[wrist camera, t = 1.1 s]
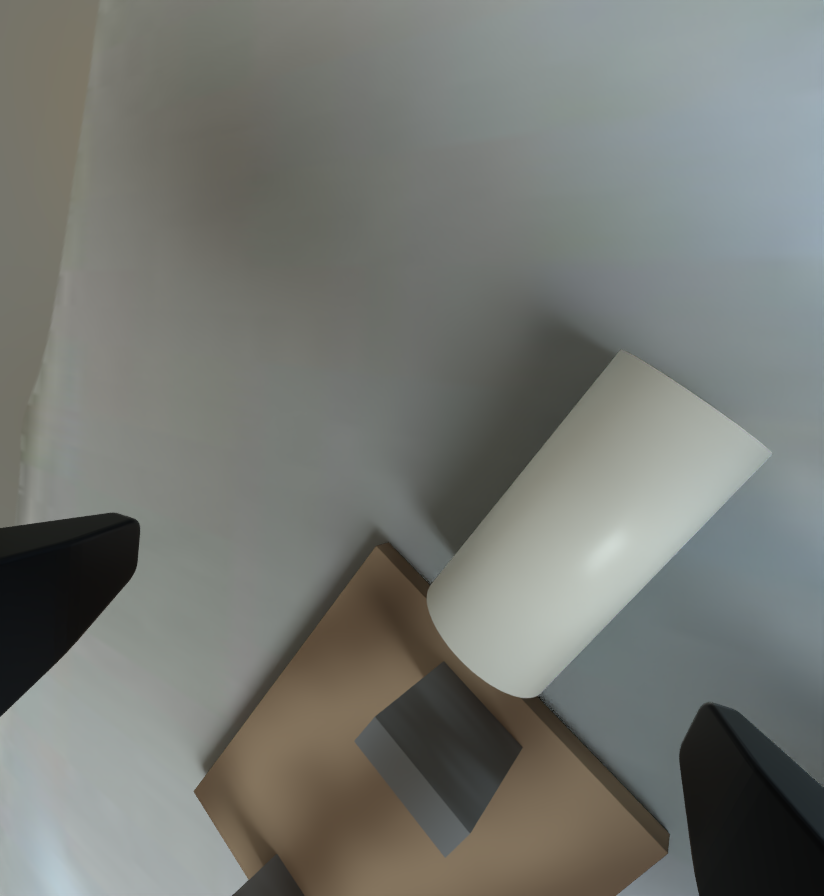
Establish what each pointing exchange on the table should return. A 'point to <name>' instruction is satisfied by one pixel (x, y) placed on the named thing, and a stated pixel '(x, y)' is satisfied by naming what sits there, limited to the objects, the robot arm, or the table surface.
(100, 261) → the table surface
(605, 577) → the cylinder
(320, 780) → the roll holder
